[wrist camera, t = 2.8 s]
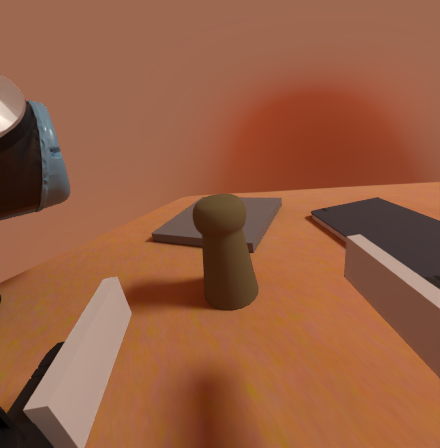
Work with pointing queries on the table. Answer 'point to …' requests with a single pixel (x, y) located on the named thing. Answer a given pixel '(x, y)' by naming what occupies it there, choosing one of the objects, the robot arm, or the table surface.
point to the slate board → (253, 229)
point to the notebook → (388, 231)
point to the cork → (225, 252)
